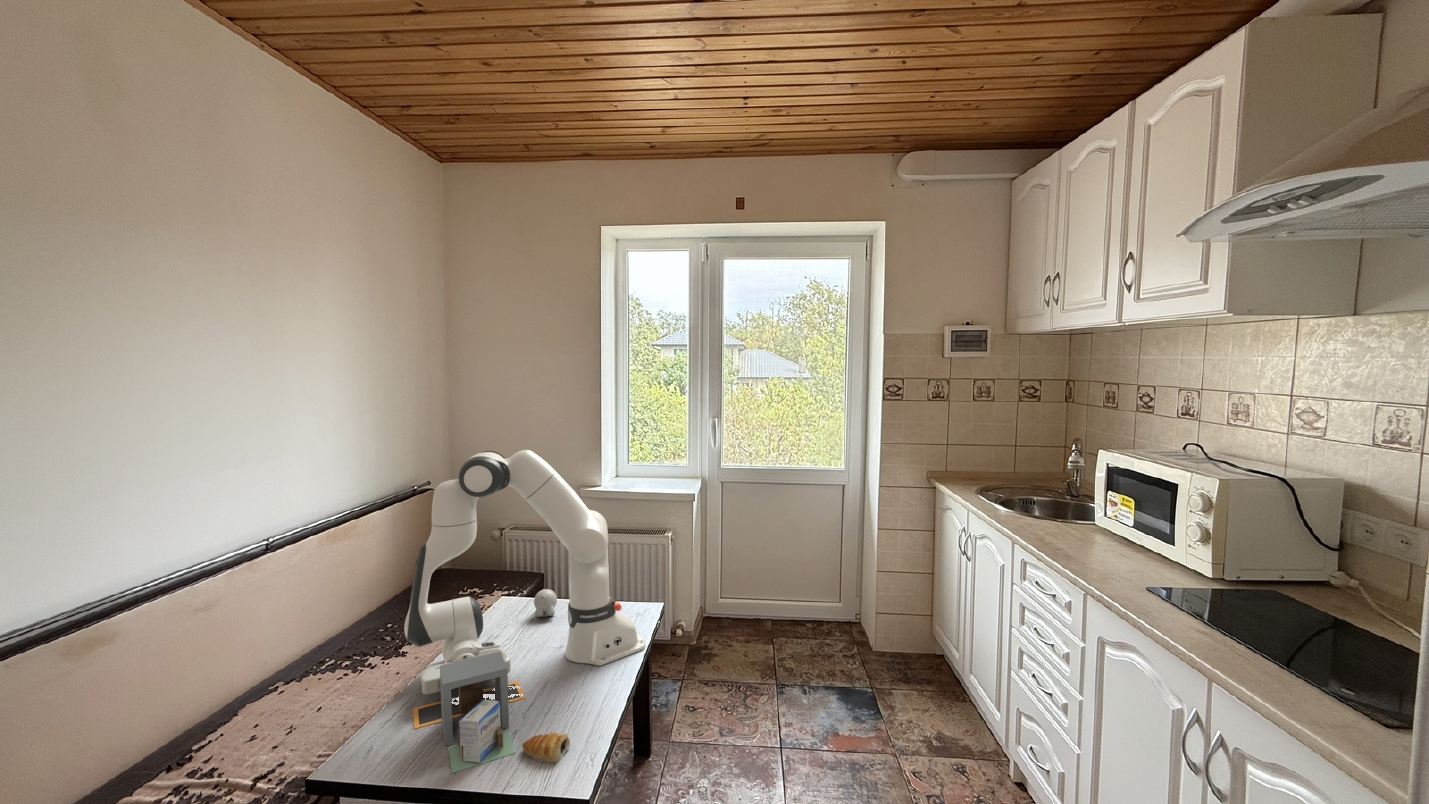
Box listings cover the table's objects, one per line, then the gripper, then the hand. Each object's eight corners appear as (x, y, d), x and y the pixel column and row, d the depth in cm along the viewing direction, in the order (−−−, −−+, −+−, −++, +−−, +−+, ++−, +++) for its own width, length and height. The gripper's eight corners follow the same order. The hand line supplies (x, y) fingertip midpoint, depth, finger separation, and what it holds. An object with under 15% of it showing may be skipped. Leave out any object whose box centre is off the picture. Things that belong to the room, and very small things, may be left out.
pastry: (516, 760, 118) (515, 742, 118) (532, 740, 124) (532, 723, 124) (558, 766, 116) (558, 747, 116) (573, 745, 123) (572, 727, 123)
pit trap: (518, 681, 148) (518, 680, 148) (525, 698, 140) (525, 697, 140) (413, 708, 136) (413, 708, 136) (414, 729, 128) (414, 728, 128)
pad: (507, 730, 128) (507, 729, 128) (515, 753, 120) (515, 752, 120) (448, 747, 122) (448, 747, 122) (452, 773, 114) (452, 772, 114)
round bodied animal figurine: (558, 615, 194) (559, 589, 197) (555, 616, 183) (556, 588, 186) (536, 617, 193) (537, 590, 196) (531, 617, 182) (533, 589, 185)
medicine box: (479, 764, 116) (478, 722, 116) (460, 761, 117) (458, 720, 117) (501, 739, 124) (500, 700, 124) (483, 737, 125) (481, 698, 124)
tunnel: (502, 706, 137) (500, 651, 136) (509, 726, 129) (507, 668, 128) (441, 723, 130) (439, 665, 130) (445, 745, 122) (442, 684, 122)
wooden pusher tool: (488, 699, 139) (487, 655, 138) (503, 747, 121) (501, 696, 120) (452, 709, 135) (450, 663, 134) (461, 760, 117) (459, 707, 116)
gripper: (418, 660, 143) (420, 686, 131) (504, 640, 153) (514, 662, 141) (419, 684, 143) (421, 712, 131) (505, 663, 153) (514, 687, 141)
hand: (470, 686), depth 136 cm, fingers closed, pressing on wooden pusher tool
